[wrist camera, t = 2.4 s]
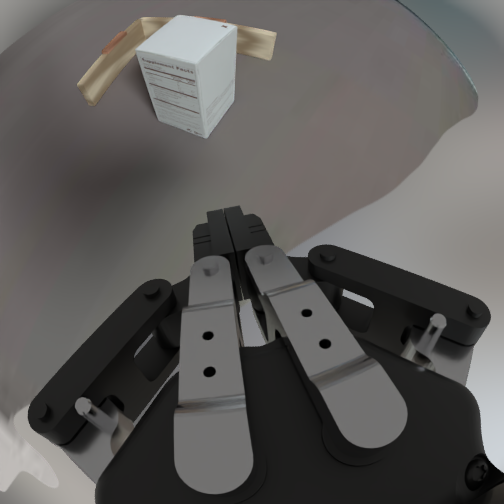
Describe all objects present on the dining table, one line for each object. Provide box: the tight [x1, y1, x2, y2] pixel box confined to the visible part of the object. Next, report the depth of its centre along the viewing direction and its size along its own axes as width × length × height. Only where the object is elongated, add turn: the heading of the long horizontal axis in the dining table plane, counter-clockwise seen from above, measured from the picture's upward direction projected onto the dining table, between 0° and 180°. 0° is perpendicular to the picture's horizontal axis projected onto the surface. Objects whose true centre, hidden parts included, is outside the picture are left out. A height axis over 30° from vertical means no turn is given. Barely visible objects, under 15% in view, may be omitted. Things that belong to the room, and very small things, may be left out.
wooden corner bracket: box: [77, 16, 277, 106], centre depth 30 cm, size 23×17×6 cm
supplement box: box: [135, 15, 237, 139], centre depth 25 cm, size 7×7×13 cm
